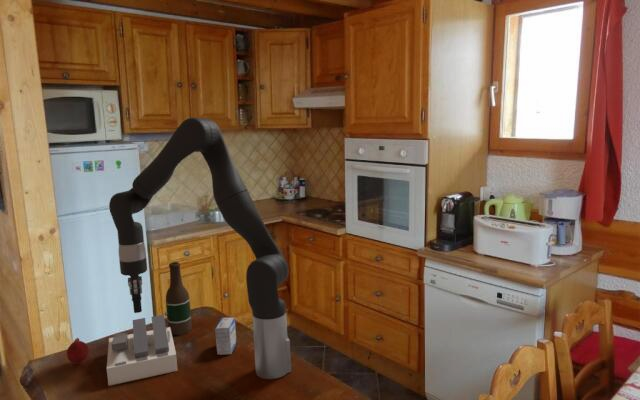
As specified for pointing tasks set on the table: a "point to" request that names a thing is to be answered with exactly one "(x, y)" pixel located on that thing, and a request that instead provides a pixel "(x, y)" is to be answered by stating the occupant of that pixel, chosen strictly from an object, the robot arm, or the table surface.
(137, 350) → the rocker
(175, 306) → the beer bottle
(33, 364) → the table surface
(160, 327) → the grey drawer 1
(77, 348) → the onion
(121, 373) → the board rack
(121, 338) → the grey board
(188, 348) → the table surface
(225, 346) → the medicine box
